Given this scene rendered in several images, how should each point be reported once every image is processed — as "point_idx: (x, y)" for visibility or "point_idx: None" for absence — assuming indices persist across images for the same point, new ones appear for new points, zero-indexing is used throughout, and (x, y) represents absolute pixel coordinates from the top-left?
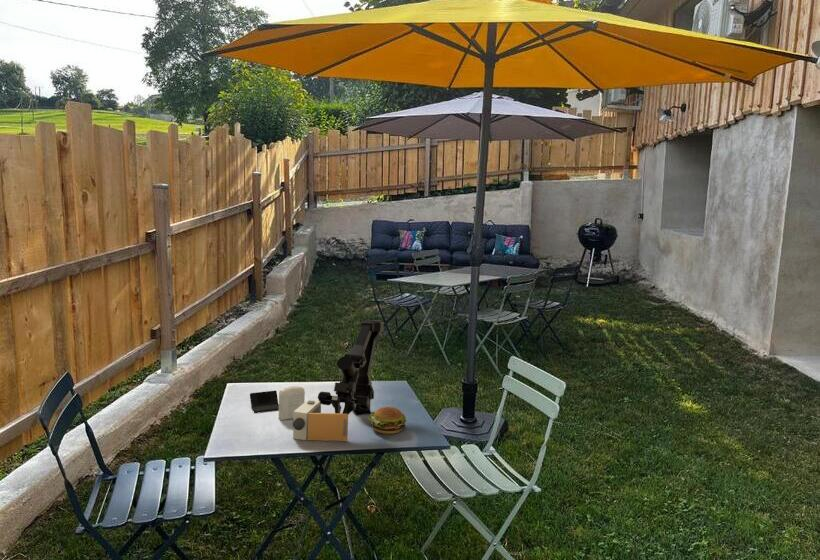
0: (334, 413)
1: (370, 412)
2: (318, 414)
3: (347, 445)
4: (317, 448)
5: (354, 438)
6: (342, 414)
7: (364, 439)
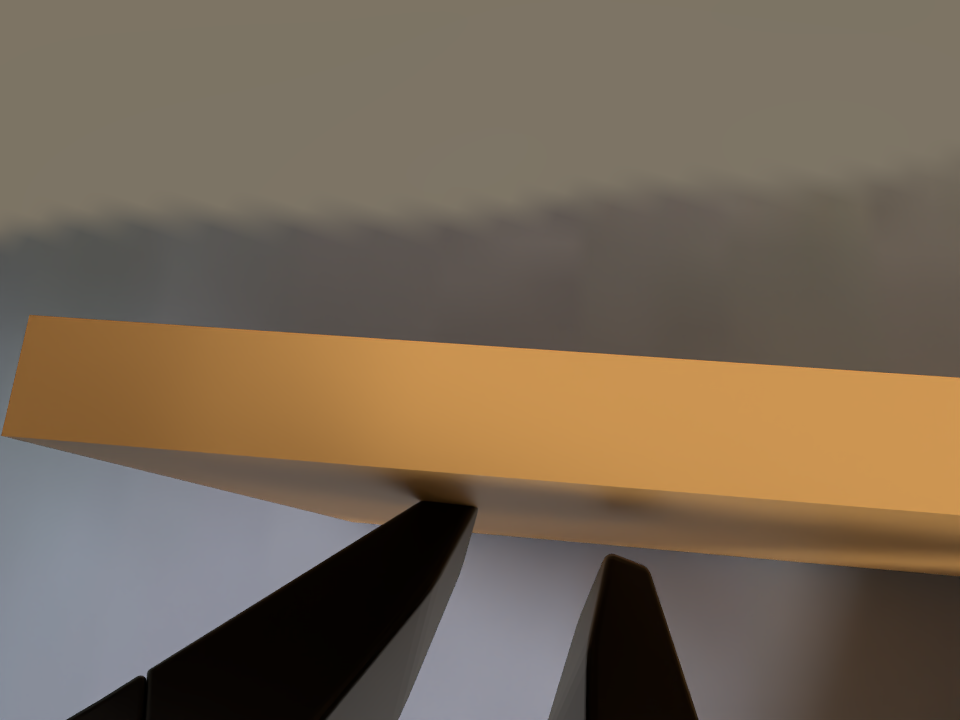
0: (798, 476)
1: None
2: None
3: (376, 307)
4: (916, 199)
5: (210, 625)
6: (332, 345)
7: (30, 564)
